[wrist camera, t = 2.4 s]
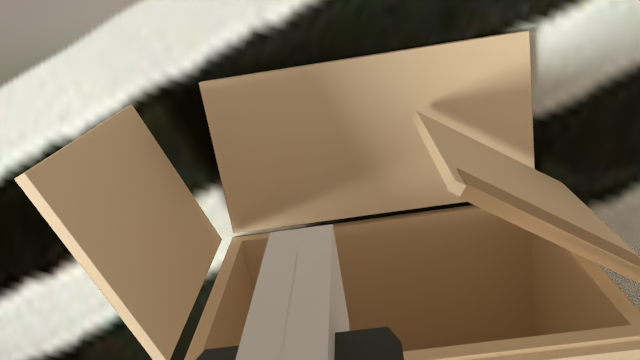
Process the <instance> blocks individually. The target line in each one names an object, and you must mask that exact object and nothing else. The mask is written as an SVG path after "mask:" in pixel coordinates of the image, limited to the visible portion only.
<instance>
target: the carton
mask: <svg viewBox="0 0 640 360" xmlns="http://www.w3.org/2000/svg"><path fill="white" fill-rule="evenodd" d="M199 86H200V91H201V95H202V99H203V104H204V108H205V112H206V117H207V121H208V125H209V130H210V134H211V138H212V143H213V147H214V151H215V156H216V160H217V164H218V169H219V173H220V177H221V182H222V186H223V190H224V195H225V199H226V203H227V208H228V212H229V216H230V221H231V225H232V229H233V233H240V232H247V231H255V230H262V229H269V228H277V227H284V226H292V225H299V224H306V223H314V222H321V221H328V220H336V219H343V218H350V217H358V216H365V215H372V214H380V213H387V212H394V211H402V210H409V209H416V208H424V207H431V206H438V205H446V204H453V203H460V202H467V201H465V200H463V199H461V198H459V197H458V195H456V194H454V193H452V192H450V191H448V189H447V187H446V185H445V183H444V181H443V179H442V177H441V175H440V173H439V171H438V169H437V167H436V165H435V163H434V161H433V159H432V157H431V155H430V153H429V151H428V149H427V147H426V145H425V143H424V141H423V139H422V137H421V136H420V134H419V132H418V130H417V128H416V126H415V124H414V122H413V120H412V117H413V115H414V113H415V111H418V112H420V113H422V114H424V115H426V116H428V117H430V118H432V119H434V120H436V121H438V122H440V123H442V124H444V125H446V126H448V127H450V128H452V129H454V130H456V131H458V132H460V133H462V134H464V135H466V136H468V137H470V138H472V139H474V140H476V141H479V142H481V143H483V144H485V145H487V146H489V147H491V148H493V149H495V150H497V151H499V152H501V153H503V154H505V155H507V156H509V157H511V158H513V159H515V160H517V161H519V162H521V163H523V164H525V165H527V166H529V167H531V168H533V169H535V166H534V141H533V116H532V90H531V65H530V40H529V31H528V30H524V31H517V32H511V33H505V34H499V35H492V36H486V37H480V38H473V39H467V40H461V41H454V42H448V43H442V44H435V45H429V46H423V47H416V48H410V49H404V50H397V51H391V52H385V53H378V54H372V55H366V56H360V57H353V58H347V59H341V60H334V61H328V62H322V63H315V64H309V65H303V66H296V67H290V68H284V69H277V70H271V71H265V72H258V73H252V74H246V75H240V76H233V77H227V78H221V79H214V80H208V81H202V82H200V83H199ZM15 180H16V182H17V183H18V184H19V186H20V187H21V188H22V190H23V191H24V192H25V194H26V195H27V196H28V197H29V199H30V200H31V201H32V203H33V204H34V205H35V207H36V208H37V209H38V210H39V212H40V213H41V214H42V216H43V217H44V218H45V220H46V221H47V222H48V223H49V225H50V226H51V227H52V229H53V230H54V231H55V233H56V234H57V235H58V237H59V238H60V239H61V240H62V242H63V243H64V244H65V246H66V247H67V248H68V250H69V251H70V252H71V253H72V255H73V256H74V257H75V259H76V260H77V261H78V263H79V264H80V265H81V267H82V268H83V269H84V270H85V272H86V273H87V274H88V276H89V277H90V278H91V280H92V281H93V282H94V283H95V285H96V286H97V287H98V289H99V290H100V291H101V293H102V294H103V295H104V296H105V298H106V299H107V300H108V302H109V303H110V304H111V306H112V307H113V308H114V310H115V311H116V312H117V313H118V315H119V316H120V317H121V319H122V320H123V321H124V323H125V324H126V325H127V326H128V328H129V329H130V330H131V332H132V333H133V334H134V336H135V337H136V338H137V339H138V341H139V342H140V343H141V345H142V346H143V347H144V349H145V350H146V351H147V353H148V354H149V355H150V356H151V358H152V359H153V360H170V358H171V356H172V353H173V351H174V349H175V347H176V344H177V342H178V340H179V337H180V335H181V333H182V330H183V328H184V326H185V323H186V321H187V319H188V316H189V314H190V312H191V310H192V307H193V305H194V303H195V300H196V298H197V296H198V293H199V291H200V289H201V286H202V284H203V282H204V279H205V277H206V275H207V273H208V270H209V268H210V266H211V263H212V261H213V259H214V256H215V254H216V252H217V249H218V247H219V245H220V242H221V240H222V239H221V237H220V236H219V234H218V233H217V231H216V230H215V228H214V227H213V225H212V224H211V222H210V221H209V219H208V218H207V216H206V215H205V213H204V212H203V210H202V209H201V207H200V206H199V204H198V203H197V201H196V200H195V198H194V197H193V195H192V194H191V192H190V191H189V189H188V188H187V186H186V185H185V183H184V182H183V180H182V179H181V177H180V176H179V174H178V173H177V171H176V170H175V168H174V167H173V165H172V164H171V163H170V161H169V160H168V158H167V157H166V155H165V154H164V152H163V151H162V149H161V148H160V146H159V145H158V143H157V142H156V140H155V139H154V137H153V136H152V134H151V133H150V131H149V130H148V128H147V127H146V125H145V124H144V122H143V121H142V119H141V118H140V116H139V115H138V113H137V112H136V110H135V109H134V107H133V106H132V104H131V105H129V106H128V107H126V108H124V109H123V110H121V111H120V112H118V113H116V114H115V115H113V116H112V117H110V118H109V119H107V120H106V121H104V122H102V123H101V124H99V125H98V126H96V127H95V128H93V129H92V130H90V131H88V132H87V133H85V134H84V135H82V136H81V137H79V138H77V139H76V140H74V141H73V142H71V143H70V144H68V145H67V146H65V147H63V148H62V149H60V150H59V151H57V152H56V153H54V154H52V155H51V156H49V157H48V158H46V159H45V160H43V161H42V162H40V163H38V164H37V165H35V166H34V167H32V168H31V169H29V170H27V171H26V172H24V173H23V174H21V175H20V176H18V177H17V178H15ZM328 225H330V224H328ZM321 226H323V225H321ZM314 227H315V226H314ZM306 228H308V227H306ZM299 229H300V228H299ZM333 229H334V235H335V241H336V247H337V253H338V259H339V265H340V271H341V277H342V283H343V289H344V295H345V301H346V307H347V313H348V319H349V331H353V330H362V329H370V328H379V327H388V328H389V329H390V330H391V331H392V332H393V333H394V334H395V335H396V337H397V338H398V339H399V340H400V341H401V343H402V349H403V356H404V360H640V311H639V310H638V308H637V307H636V306H635V305H634V304H633V303H632V302H631V301H630V299H629V298H628V297H627V296H626V295H625V294H624V293H623V292H622V291H621V289H620V288H619V287H618V286H617V285H616V284H615V283H614V282H613V280H612V279H611V278H610V277H609V276H608V275H607V274H606V273H605V271H604V270H603V269H602V268H601V267H600V266H599V265H598V264H597V263H595V262H593V261H591V260H588V259H586V258H584V257H582V256H580V255H578V254H576V253H574V252H572V251H570V250H568V249H565V248H563V247H561V246H559V245H557V244H555V243H553V242H551V241H549V240H547V239H544V238H542V237H540V236H538V235H536V234H534V233H532V232H530V231H528V230H526V229H524V228H521V227H519V226H517V225H515V224H513V223H511V222H509V221H507V220H505V219H503V218H501V217H498V216H496V215H494V214H492V213H490V212H488V211H486V210H484V209H482V208H480V207H477V206H475V205H468V206H461V207H454V208H446V209H439V210H432V211H424V212H417V213H409V214H402V215H395V216H387V217H380V218H373V219H365V220H358V221H350V222H343V223H336V224H333ZM291 230H292V229H291ZM284 231H285V230H284ZM269 235H270V232H269V233H262V234H255V235H247V236H240V237H233V238H232V240H231V243H230V245H229V248H228V250H227V253H226V255H225V258H224V260H223V263H222V266H221V268H220V271H219V273H218V276H217V278H216V281H215V283H214V286H213V288H212V291H211V293H210V296H209V298H208V301H207V304H206V306H205V309H204V311H203V314H202V316H201V319H200V321H199V324H198V326H197V329H196V331H195V334H194V336H193V339H192V342H191V344H190V347H189V349H188V352H187V354H186V357H185V359H184V360H196V359H197V358H198V357H199V355H200V354H201V353H202V352H203V351H204V350H205V349H213V348H222V347H230V346H239V345H240V341H241V337H242V334H243V330H244V326H245V323H246V319H247V315H248V312H249V308H250V304H251V301H252V297H253V293H254V290H255V286H256V282H257V279H258V275H259V271H260V268H261V264H262V260H263V257H264V253H265V249H266V246H267V242H268V239H269Z"/></svg>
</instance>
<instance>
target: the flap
mask: <svg viewBox="0 0 640 360" xmlns="http://www.w3.org/2000/svg"><path fill="white" fill-rule="evenodd" d="M412 120H413V122H414V124H415V126H416V128H417V130H418V132H419V134H420V136H421V137H422V139H423V141H424V143H425V145H426V147H427V149H428V151H429V153H430V155H431V157H432V159H433V161H434V163H435V165H436V167H437V169H438V171H439V173H440V175H441V177H442V179H443V181H444V183H445V185H446V187H447V189H448V191H450V192H452V193H454V194H456V195H458V197H459V198H461V199H463V200H465V201H467V202H469V203H471V204H473V205H475V206H477V207H480V208H482V209H484V210H486V211H488V212H490V213H492V214H494V215H496V216H498V217H501V218H503V219H505V220H507V221H509V222H511V223H513V224H515V225H517V226H519V227H521V228H524V229H526V230H528V231H530V232H532V233H534V234H536V235H538V236H540V237H542V238H544V239H547V240H549V241H551V242H553V243H555V244H557V245H559V246H561V247H563V248H565V249H568V250H570V251H572V252H574V253H576V254H578V255H580V256H582V257H584V258H586V259H588V260H591V261H593V262H595V263H597V264H599V265H601V266H603V267H605V268H607V269H609V270H611V271H614V272H616V273H618V274H620V275H622V276H624V277H626V278H628V279H630V280H632V281H635V282H637V283H639V284H640V255H638V254H637V253H636V252H635V251H634V250H633V249H632V248H631V247H630V246H629V245H628V244H627V243H626V242H625V241H624V240H622V239H621V238H620V237H619V236H618V235H617V234H616V233H615V232H614V231H613V230H612V229H611V228H610V227H609V226H608V225H606V224H605V223H604V222H603V221H602V220H601V219H600V218H599V217H598V216H597V215H596V214H595V213H594V212H593V211H592V210H590V209H589V208H588V207H587V206H586V205H585V204H584V203H583V202H582V201H581V200H580V199H579V198H578V197H577V196H576V195H574V194H573V193H572V192H571V191H570V190H569V189H568V188H567V187H566V186H565V185H564V184H563V183H562V182H560V181H558V180H556V179H553V178H551V177H549V176H547V175H545V174H543V173H541V172H539V171H537V170H535V169H533V168H531V167H529V166H527V165H525V164H523V163H521V162H519V161H517V160H515V159H513V158H511V157H509V156H507V155H505V154H503V153H501V152H499V151H497V150H495V149H493V148H491V147H489V146H487V145H485V144H483V143H481V142H479V141H476V140H474V139H472V138H470V137H468V136H466V135H464V134H462V133H460V132H458V131H456V130H454V129H452V128H450V127H448V126H446V125H444V124H442V123H440V122H438V121H436V120H434V119H432V118H430V117H428V116H426V115H424V114H422V113H420V112H418V111H415V113H414V115H413V117H412Z"/></svg>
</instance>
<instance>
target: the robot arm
mask: <svg viewBox="0 0 640 360" xmlns="http://www.w3.org/2000/svg"><path fill="white" fill-rule="evenodd" d="M196 360H404V356H403V349H402V343H401V341H400V340H399V339H398V338H397V337H396V335H395V334H394V333H393V332H392V331H391V330H390V329H389V328H388V327H379V328H370V329H362V330H353V331H349V319H348V313H347V307H346V301H345V295H344V289H343V283H342V277H341V271H340V265H339V259H338V253H337V247H336V241H335V235H334V229H333V224H330V225H323V226H315V227H308V228H300V229H292V230H285V231H277V232H270V235H269V239H268V242H267V246H266V249H265V253H264V257H263V260H262V264H261V268H260V271H259V275H258V279H257V282H256V286H255V290H254V293H253V297H252V301H251V304H250V308H249V312H248V315H247V319H246V323H245V326H244V330H243V334H242V337H241V341H240V345H239V346H230V347H222V348H213V349H205V350H204V351H203V352H202V353H201V354H200V355H199V357H198V358H197V359H196Z"/></svg>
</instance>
